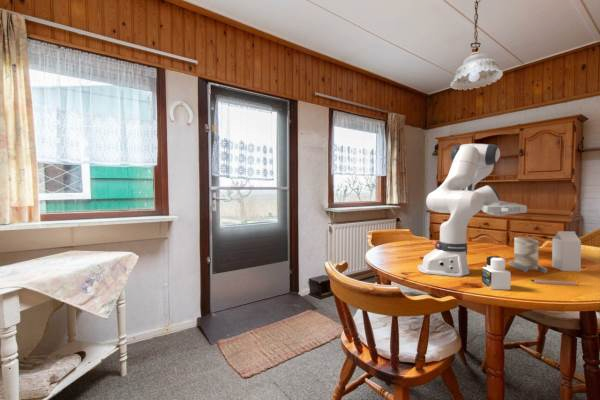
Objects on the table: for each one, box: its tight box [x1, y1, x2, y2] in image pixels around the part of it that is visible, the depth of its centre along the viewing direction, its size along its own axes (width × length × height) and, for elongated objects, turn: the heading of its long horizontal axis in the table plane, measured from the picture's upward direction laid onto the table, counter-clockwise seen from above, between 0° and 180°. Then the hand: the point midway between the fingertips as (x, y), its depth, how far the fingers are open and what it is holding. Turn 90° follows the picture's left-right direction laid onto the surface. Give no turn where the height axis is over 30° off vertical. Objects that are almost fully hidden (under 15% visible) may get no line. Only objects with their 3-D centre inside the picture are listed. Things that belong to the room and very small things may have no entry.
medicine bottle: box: [481, 255, 512, 291], centre depth 110 cm, size 7×7×12 cm
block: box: [513, 236, 539, 271], centre depth 133 cm, size 6×8×14 cm
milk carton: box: [551, 230, 582, 273], centre depth 130 cm, size 7×7×19 cm
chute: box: [508, 260, 578, 286], centre depth 125 cm, size 14×27×3 cm, turn 167°
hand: (511, 209), depth 146 cm, fingers closed
